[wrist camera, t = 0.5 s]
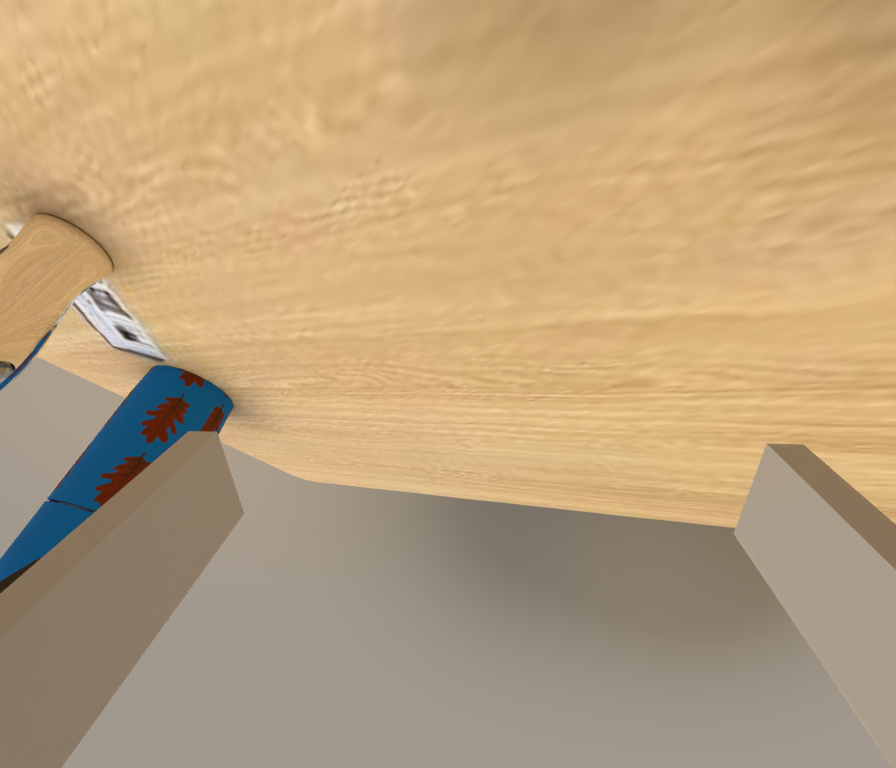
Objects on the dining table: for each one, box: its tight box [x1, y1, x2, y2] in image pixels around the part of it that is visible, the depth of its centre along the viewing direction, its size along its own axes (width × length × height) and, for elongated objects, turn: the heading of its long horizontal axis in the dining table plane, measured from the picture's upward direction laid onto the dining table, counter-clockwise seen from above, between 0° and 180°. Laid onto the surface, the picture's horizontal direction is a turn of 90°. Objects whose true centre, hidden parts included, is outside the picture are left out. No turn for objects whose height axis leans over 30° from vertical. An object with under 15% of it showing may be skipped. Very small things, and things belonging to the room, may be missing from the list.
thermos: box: [0, 366, 233, 581], centre depth 48 cm, size 11×11×25 cm
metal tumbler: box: [0, 214, 113, 392], centre depth 31 cm, size 7×7×15 cm
